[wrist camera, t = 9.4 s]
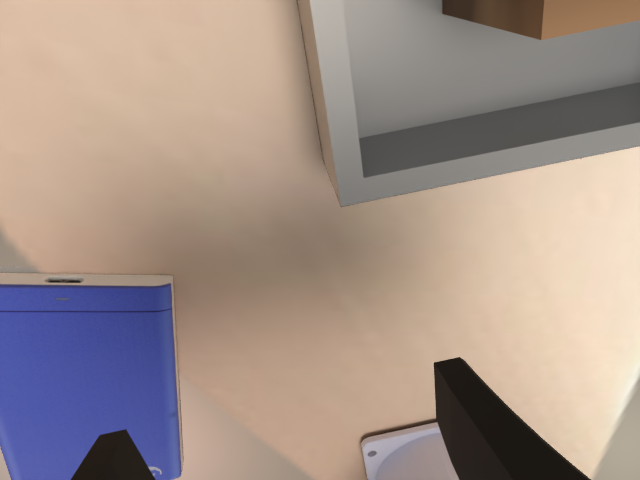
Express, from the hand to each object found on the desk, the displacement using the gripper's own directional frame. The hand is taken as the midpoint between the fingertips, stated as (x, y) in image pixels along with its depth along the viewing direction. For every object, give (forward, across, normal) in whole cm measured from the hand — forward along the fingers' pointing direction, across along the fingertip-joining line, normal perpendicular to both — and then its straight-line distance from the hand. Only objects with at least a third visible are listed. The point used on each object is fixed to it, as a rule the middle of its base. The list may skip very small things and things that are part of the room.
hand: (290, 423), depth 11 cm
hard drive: (+10, +10, +6) cm, 16 cm away
